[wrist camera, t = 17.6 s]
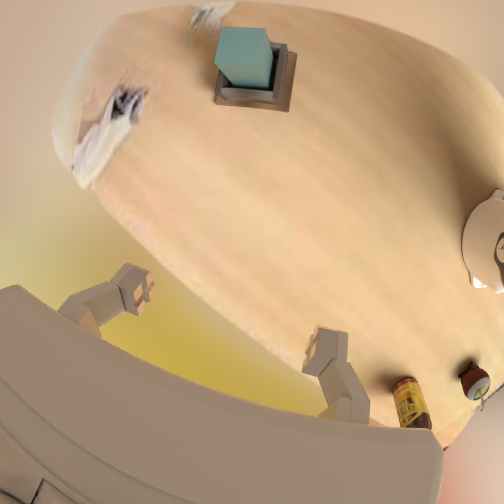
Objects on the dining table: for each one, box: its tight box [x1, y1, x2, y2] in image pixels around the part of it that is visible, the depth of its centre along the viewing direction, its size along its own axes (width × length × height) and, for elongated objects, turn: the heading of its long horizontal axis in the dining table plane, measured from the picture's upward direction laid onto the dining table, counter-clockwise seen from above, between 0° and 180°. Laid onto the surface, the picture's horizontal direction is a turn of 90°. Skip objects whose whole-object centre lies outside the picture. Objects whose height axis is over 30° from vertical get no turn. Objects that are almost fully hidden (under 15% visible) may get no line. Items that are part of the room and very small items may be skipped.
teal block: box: [214, 28, 275, 91], centre depth 29 cm, size 5×5×12 cm
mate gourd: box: [458, 362, 490, 411], centre depth 36 cm, size 8×8×15 cm
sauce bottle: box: [393, 378, 432, 430], centre depth 38 cm, size 6×6×20 cm
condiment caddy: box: [215, 42, 297, 112], centre depth 33 cm, size 11×10×6 cm
